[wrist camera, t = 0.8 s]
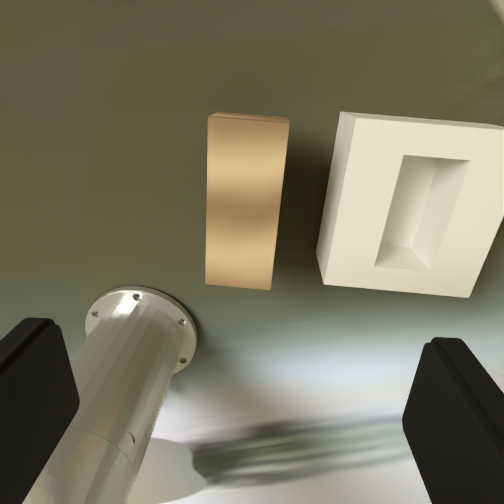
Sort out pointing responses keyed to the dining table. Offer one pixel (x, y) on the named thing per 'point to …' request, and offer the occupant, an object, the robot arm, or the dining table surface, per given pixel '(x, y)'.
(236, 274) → the tan brown rectangular block
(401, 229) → the white recessed tray
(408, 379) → the dining table surface
